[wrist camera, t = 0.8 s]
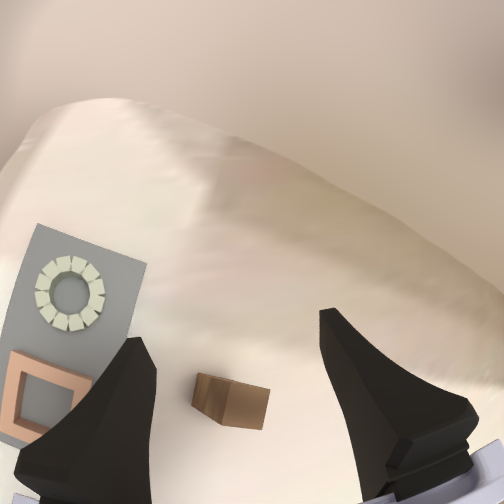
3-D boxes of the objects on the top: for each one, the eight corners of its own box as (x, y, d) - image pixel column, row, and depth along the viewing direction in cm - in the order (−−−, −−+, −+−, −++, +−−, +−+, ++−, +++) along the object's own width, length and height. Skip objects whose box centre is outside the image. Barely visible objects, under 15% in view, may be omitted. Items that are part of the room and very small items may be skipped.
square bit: (223, 411, 28) (262, 429, 21) (191, 405, 27) (221, 425, 20) (230, 379, 29) (270, 389, 22) (198, 372, 28) (230, 382, 21)
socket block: (99, 471, 21) (100, 486, 18) (-11, 431, 18) (-23, 441, 15) (145, 265, 29) (151, 256, 26) (39, 226, 25) (32, 212, 22)
